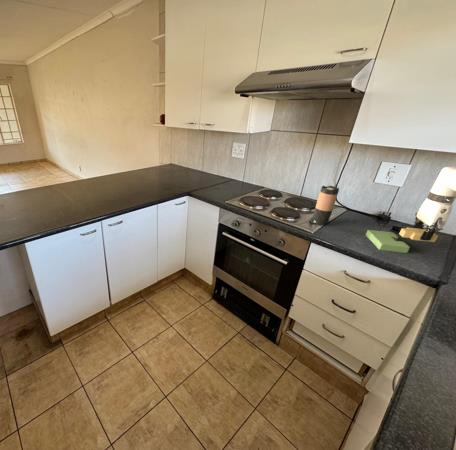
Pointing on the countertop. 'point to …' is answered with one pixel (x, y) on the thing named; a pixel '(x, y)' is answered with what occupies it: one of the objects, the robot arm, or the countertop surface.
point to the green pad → (387, 241)
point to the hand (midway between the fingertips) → (419, 235)
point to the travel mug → (325, 204)
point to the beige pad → (415, 234)
